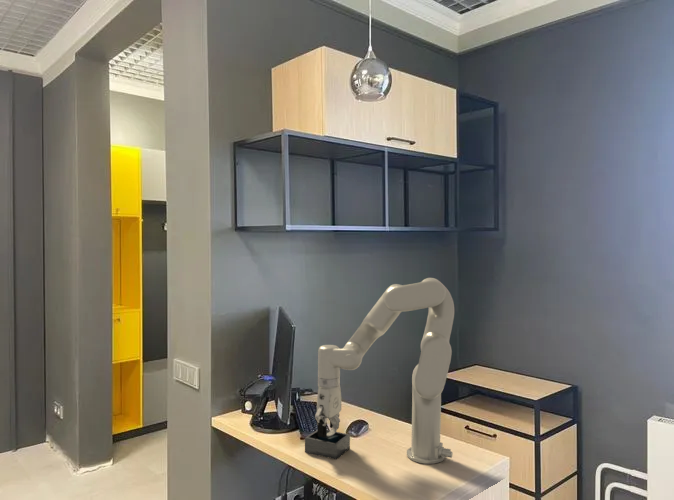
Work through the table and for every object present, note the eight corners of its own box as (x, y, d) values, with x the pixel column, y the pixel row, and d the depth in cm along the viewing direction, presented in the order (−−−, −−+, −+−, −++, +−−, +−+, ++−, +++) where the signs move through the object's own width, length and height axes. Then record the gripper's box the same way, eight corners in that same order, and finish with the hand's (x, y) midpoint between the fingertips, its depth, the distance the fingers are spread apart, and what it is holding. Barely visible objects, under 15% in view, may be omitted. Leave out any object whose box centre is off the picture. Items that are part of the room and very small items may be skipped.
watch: (342, 443, 177) (342, 411, 177) (325, 449, 172) (325, 417, 172) (331, 438, 181) (331, 407, 181) (314, 445, 176) (314, 413, 176)
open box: (349, 448, 178) (350, 434, 178) (336, 459, 169) (336, 444, 169) (319, 442, 184) (319, 428, 184) (304, 452, 175) (305, 437, 175)
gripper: (326, 389, 167) (325, 443, 167) (349, 377, 182) (349, 426, 183) (306, 386, 170) (305, 438, 171) (331, 374, 186) (330, 422, 186)
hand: (328, 432), depth 177 cm, fingers closed on watch, 8 cm apart
